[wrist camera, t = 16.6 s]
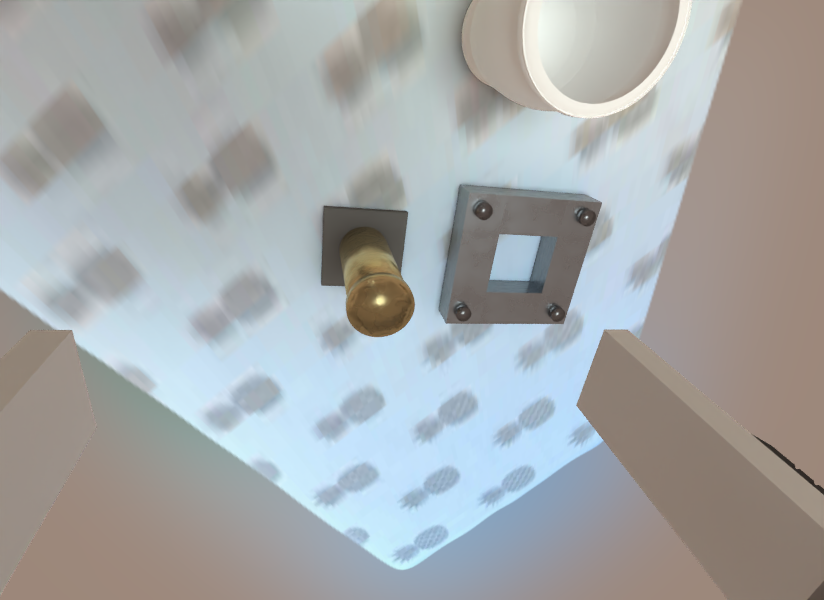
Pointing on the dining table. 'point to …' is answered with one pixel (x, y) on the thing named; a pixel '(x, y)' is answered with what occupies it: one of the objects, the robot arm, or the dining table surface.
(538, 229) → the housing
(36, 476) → the robot arm
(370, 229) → the brass-coloured knob
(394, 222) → the mat
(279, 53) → the dining table surface
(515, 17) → the jar
